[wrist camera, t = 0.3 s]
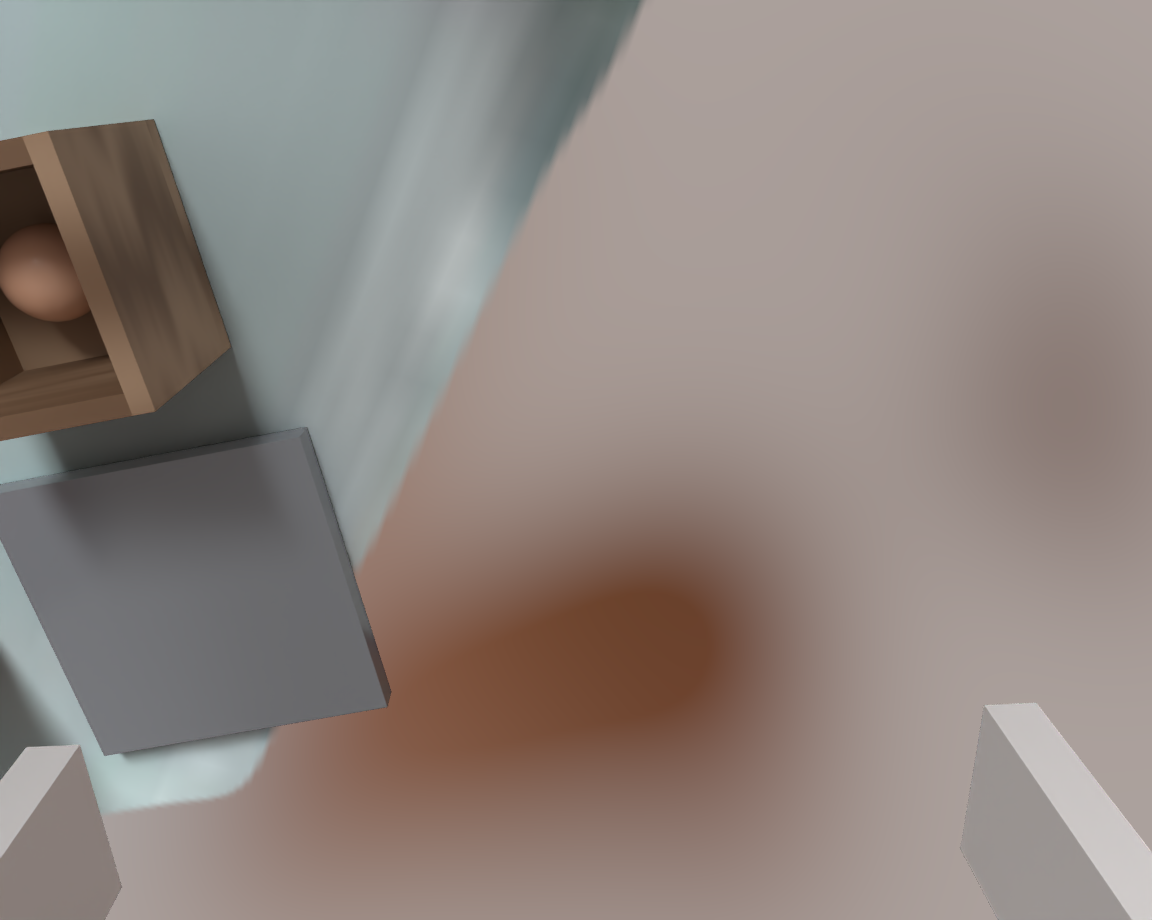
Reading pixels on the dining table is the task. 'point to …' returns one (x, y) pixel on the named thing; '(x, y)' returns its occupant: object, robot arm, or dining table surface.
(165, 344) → the walnut box
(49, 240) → the clay ball
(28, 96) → the dining table surface
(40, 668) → the dining table surface
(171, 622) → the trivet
